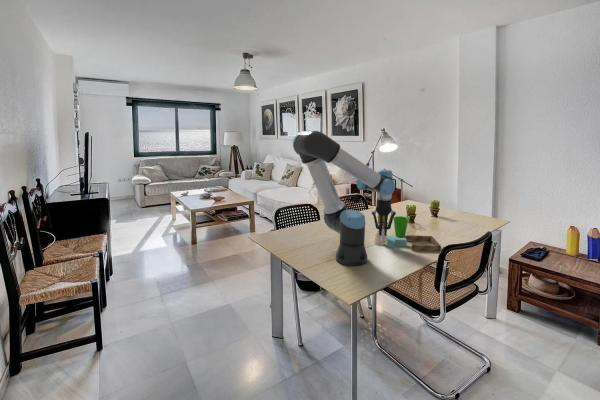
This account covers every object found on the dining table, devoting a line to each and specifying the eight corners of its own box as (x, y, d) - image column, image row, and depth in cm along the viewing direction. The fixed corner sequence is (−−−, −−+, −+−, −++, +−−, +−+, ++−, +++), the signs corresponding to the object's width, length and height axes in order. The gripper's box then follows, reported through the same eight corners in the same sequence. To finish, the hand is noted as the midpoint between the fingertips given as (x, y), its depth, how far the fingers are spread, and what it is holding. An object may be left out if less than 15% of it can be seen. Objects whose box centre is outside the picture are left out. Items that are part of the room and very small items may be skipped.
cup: (409, 234, 194) (410, 217, 191) (406, 239, 186) (407, 221, 183) (393, 233, 198) (394, 215, 195) (390, 237, 190) (391, 219, 187)
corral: (411, 250, 169) (412, 245, 168) (405, 240, 185) (405, 235, 184) (440, 251, 167) (440, 246, 166) (431, 241, 183) (432, 235, 182)
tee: (388, 247, 173) (388, 241, 173) (385, 241, 183) (385, 235, 182) (407, 248, 172) (407, 242, 171) (403, 242, 182) (404, 236, 181)
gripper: (372, 200, 170) (370, 243, 175) (397, 200, 169) (395, 243, 174) (370, 197, 178) (369, 238, 183) (395, 197, 176) (393, 239, 181)
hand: (382, 241), depth 178 cm, fingers closed
